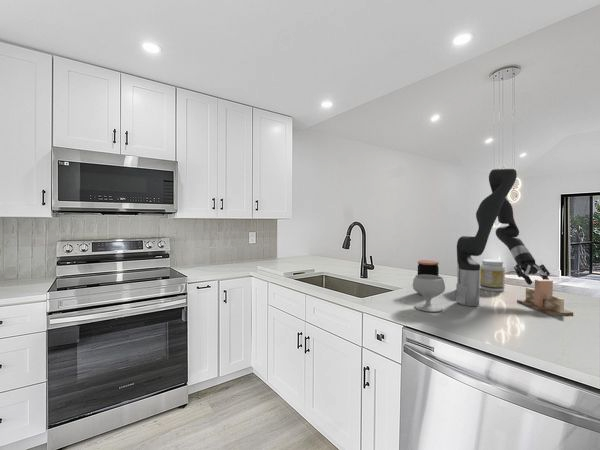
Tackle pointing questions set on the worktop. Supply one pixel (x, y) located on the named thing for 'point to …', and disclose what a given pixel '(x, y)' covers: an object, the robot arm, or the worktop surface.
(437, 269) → the coffee jar
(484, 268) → the supplement tub
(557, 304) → the ridged rail
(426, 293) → the chalice
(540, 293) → the slotted upright
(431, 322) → the worktop surface
